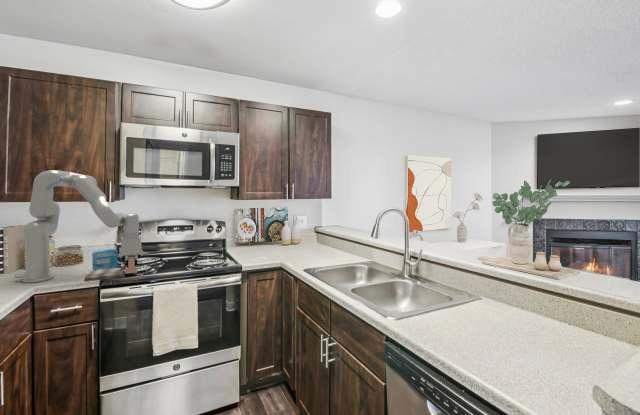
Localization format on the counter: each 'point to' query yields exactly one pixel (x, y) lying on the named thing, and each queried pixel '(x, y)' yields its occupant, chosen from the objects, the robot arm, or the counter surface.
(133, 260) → the stub
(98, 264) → the data package
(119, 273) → the ticket pad
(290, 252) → the counter surface
